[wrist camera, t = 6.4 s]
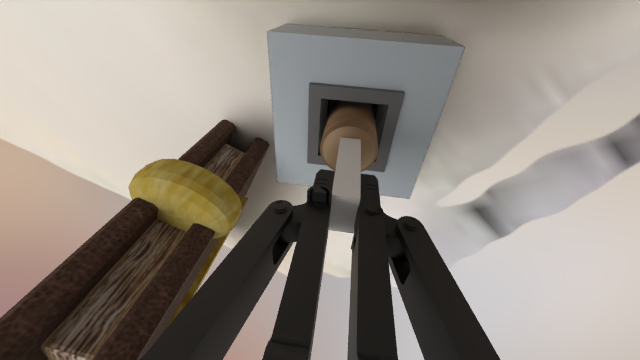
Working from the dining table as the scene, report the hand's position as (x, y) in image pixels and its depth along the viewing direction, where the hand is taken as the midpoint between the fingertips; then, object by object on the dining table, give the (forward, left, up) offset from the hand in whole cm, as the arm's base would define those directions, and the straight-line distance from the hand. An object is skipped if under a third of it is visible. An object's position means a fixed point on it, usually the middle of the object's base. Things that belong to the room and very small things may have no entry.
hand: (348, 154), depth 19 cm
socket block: (0, 0, -10) cm, 10 cm away
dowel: (0, 0, -7) cm, 7 cm away
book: (-16, -12, -10) cm, 22 cm away
